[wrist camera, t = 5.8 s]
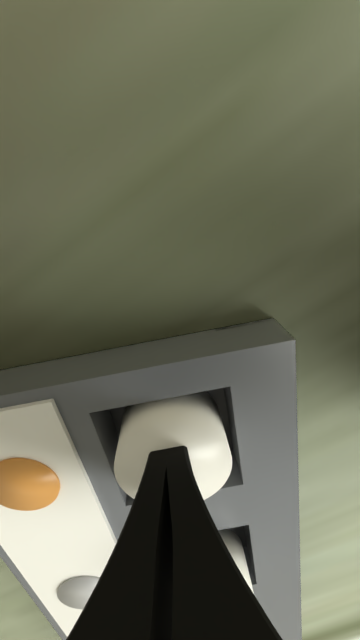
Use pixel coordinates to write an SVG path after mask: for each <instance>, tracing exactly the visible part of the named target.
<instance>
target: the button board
mask: <svg viewBox="0 0 360 640" xmlns="http://www.w3.org/2000/svg"><path fill="white" fill-rule="evenodd" d="M203 391H206V392H207V393H209V394H210V395H211V397H212V398H213V399H214V401H215V402H216V404H217V406H218V409H219V412H220V416H221V419H222V423H223V427H224V430H225V434H226V437H227V441H228V444H229V448H230V451H231V455H232V469H231V473H230V475H229V477H228V479H227V481H226V482H225V484H224V485H223V486H222V487H221V488H220V489H219V490H218V491H217V492H216V493H215V494H213V495H212V496H210V497H209V498H207V499H205V500H204V502H205V504H206V506H207V509H208V511H209V513H210V515H211V517H212V519H213V521H214V523H215V525H216V527H217V529H218V530H223V529H229V530H231V531H233V532H234V533H235V534H236V535H238V537H239V538H240V540H241V542H242V546H243V550H244V554H245V558H246V563H247V567H248V571H249V575H250V579H251V583H252V588H253V592H254V595H255V597H256V598H257V600H258V602H259V603H260V605H261V606H262V608H263V610H264V611H265V613H266V615H267V616H268V618H269V619H270V621H271V623H272V624H273V626H274V627H275V629H276V630H277V632H278V633H279V635H280V636H281V638H282V639H283V640H302V627H301V579H300V530H299V482H298V433H297V385H296V340H295V339H294V338H293V337H292V336H291V335H290V334H289V333H288V332H287V331H286V330H285V329H284V328H283V327H282V326H281V325H280V324H279V323H278V322H277V321H276V320H275V319H274V318H270V319H265V320H260V321H255V322H249V323H244V324H239V325H234V326H229V327H223V328H218V329H213V330H208V331H202V332H197V333H192V334H187V335H182V336H176V337H171V338H166V339H161V340H155V341H150V342H145V343H140V344H135V345H129V346H124V347H119V348H114V349H109V350H103V351H98V352H93V353H88V354H82V355H77V356H72V357H67V358H62V359H56V360H51V361H46V362H41V363H35V364H30V365H25V366H20V367H15V368H9V369H4V370H0V557H1V558H2V559H3V561H4V562H5V563H6V565H7V566H8V567H9V569H10V570H11V571H12V573H13V574H14V575H15V577H16V578H17V579H18V581H19V582H20V583H21V585H22V586H23V587H24V589H25V590H26V591H27V593H28V594H29V595H30V597H31V598H32V599H33V601H34V602H35V604H36V605H37V606H38V608H39V609H40V610H41V612H42V613H43V614H44V616H45V617H46V618H47V620H48V621H49V622H50V624H51V625H52V626H53V628H54V629H55V630H56V632H57V633H58V634H59V636H60V637H61V638H62V640H66V639H67V637H68V635H69V634H70V632H71V630H72V629H73V627H74V625H75V623H76V621H77V620H78V618H79V616H80V614H81V612H82V610H83V609H84V607H85V605H86V603H87V601H88V599H89V597H90V596H91V594H92V592H93V590H94V588H95V586H96V584H97V582H98V580H99V578H100V576H101V574H102V572H103V570H104V568H105V566H106V564H107V562H108V560H109V558H110V556H111V554H112V552H113V549H114V547H115V545H116V543H117V540H118V538H119V536H120V533H121V531H122V529H123V526H124V524H125V522H126V519H127V517H128V514H129V512H130V509H131V507H132V504H133V501H134V499H133V498H132V497H130V496H129V495H128V494H126V493H125V492H124V491H123V490H122V488H121V487H120V486H119V484H118V482H117V480H116V478H115V474H114V461H115V455H116V450H117V445H118V440H119V435H120V429H121V424H122V419H123V414H124V410H125V408H126V406H129V405H135V404H140V403H145V402H150V401H156V400H161V399H166V398H172V397H177V396H182V395H188V394H193V393H198V392H203Z"/></svg>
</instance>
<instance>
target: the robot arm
mask: <svg viewBox="0 0 360 640" xmlns="http://www.w3.org/2000/svg"><path fill="white" fill-rule="evenodd" d="M66 640H283V639H282V638H281V636H280V635H279V633H278V632H277V630H276V629H275V627H274V626H273V624H272V623H271V621H270V619H269V618H268V616H267V615H266V613H265V611H264V610H263V608H262V606H261V605H260V603H259V602H258V600H257V598H256V597H255V595H254V594H253V592H252V590H251V589H250V587H249V586H248V584H247V582H246V580H245V579H244V577H243V575H242V574H241V572H240V570H239V568H238V567H237V565H236V563H235V561H234V560H233V558H232V556H231V554H230V552H229V550H228V549H227V547H226V545H225V543H224V541H223V539H222V537H221V535H220V533H219V531H218V529H217V527H216V525H215V523H214V521H213V519H212V517H211V515H210V513H209V511H208V509H207V506H206V504H205V502H204V499H203V497H202V495H201V492H200V490H199V487H198V485H197V482H196V480H195V477H194V474H193V471H192V466H191V462H190V458H189V453H188V449H187V447H186V446H184V445H183V446H178V447H172V448H167V449H162V450H156V451H151V452H150V453H149V455H148V459H147V462H146V466H145V469H144V473H143V476H142V479H141V482H140V485H139V488H138V491H137V493H136V496H135V499H134V501H133V504H132V507H131V509H130V512H129V514H128V517H127V519H126V522H125V524H124V526H123V529H122V531H121V533H120V536H119V538H118V540H117V543H116V545H115V547H114V549H113V552H112V554H111V556H110V558H109V560H108V562H107V564H106V566H105V568H104V570H103V572H102V574H101V576H100V578H99V580H98V582H97V584H96V586H95V588H94V590H93V592H92V594H91V596H90V597H89V599H88V601H87V603H86V605H85V607H84V609H83V610H82V612H81V614H80V616H79V618H78V620H77V621H76V623H75V625H74V627H73V629H72V630H71V632H70V634H69V635H68V637H67V639H66Z"/></svg>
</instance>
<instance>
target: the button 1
mask: <svg viewBox="0 0 360 640" xmlns="http://www.w3.org/2000/svg"><path fill="white" fill-rule="evenodd" d="M183 445H184V446H186V447H187V449H188V453H189V458H190V462H191V466H192V471H193V474H194V477H195V480H196V482H197V485H198V487H199V490H200V492H201V495H202V497H203V499H204V500H205V499H207V498H209V497H210V496H212V495H213V494H215V493H216V492H217V491H218V490H219V489H220V488H221V487H222V486H223V485H224V484H225V482H226V481H227V479H228V477H229V475H230V473H231V469H232V455H231V451H230V448H229V444H228V441H227V437H226V434H225V430H224V427H223V423H222V419H221V416H220V412H219V409H218V406H217V404H216V402H215V401H214V399H213V398H212V397H211V395H210V394H209V393H207V392H206V391H203V392H198V393H193V394H188V395H182V396H177V397H172V398H166V399H161V400H156V401H150V402H145V403H140V404H135V405H129V406H126V408H125V410H124V414H123V419H122V424H121V429H120V435H119V440H118V445H117V450H116V455H115V461H114V474H115V478H116V480H117V482H118V484H119V486H120V487H121V488H122V490H123V491H124V492H125V493H126V494H128V495H129V496H130V497H132V498H133V499H135V496H136V493H137V491H138V488H139V485H140V482H141V479H142V476H143V473H144V469H145V466H146V462H147V459H148V455H149V453H150V452H151V451H156V450H162V449H167V448H172V447H178V446H183Z"/></svg>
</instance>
